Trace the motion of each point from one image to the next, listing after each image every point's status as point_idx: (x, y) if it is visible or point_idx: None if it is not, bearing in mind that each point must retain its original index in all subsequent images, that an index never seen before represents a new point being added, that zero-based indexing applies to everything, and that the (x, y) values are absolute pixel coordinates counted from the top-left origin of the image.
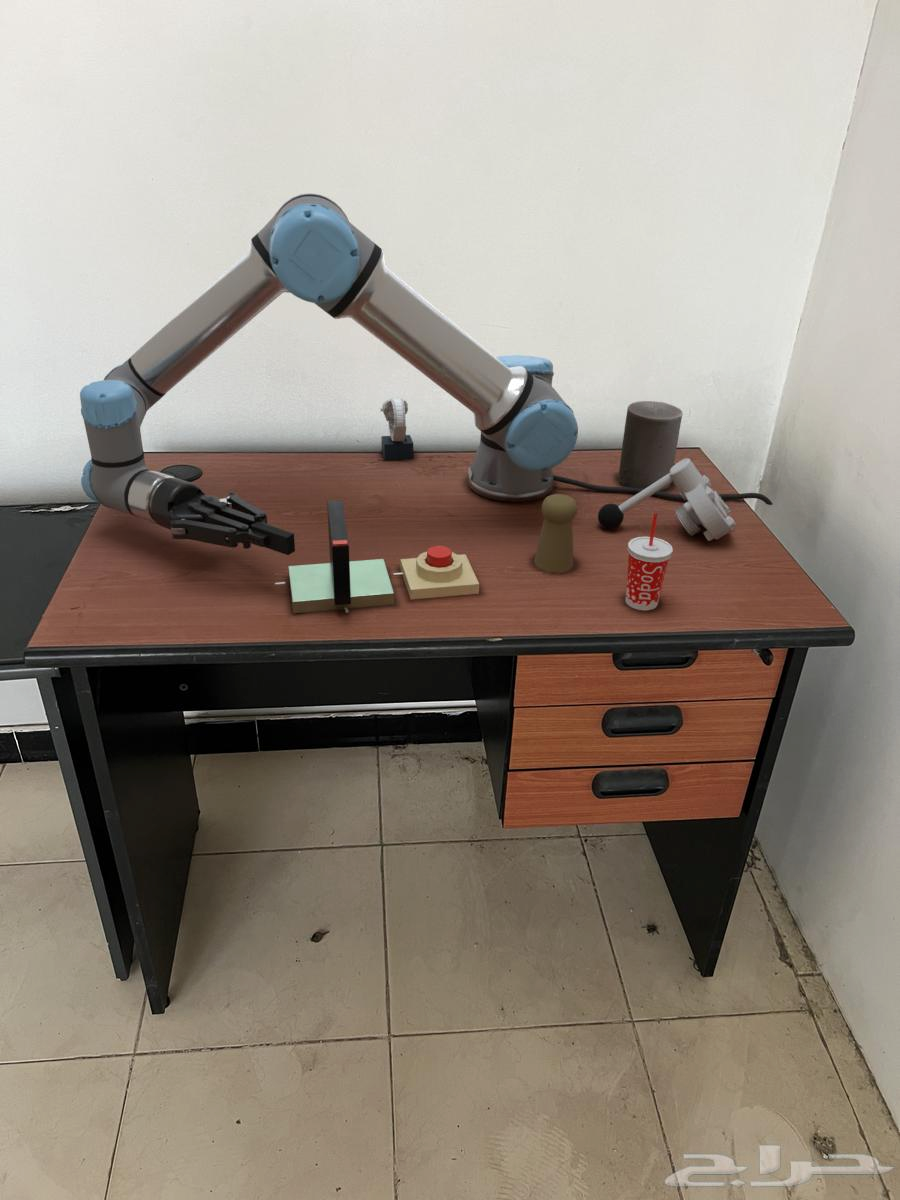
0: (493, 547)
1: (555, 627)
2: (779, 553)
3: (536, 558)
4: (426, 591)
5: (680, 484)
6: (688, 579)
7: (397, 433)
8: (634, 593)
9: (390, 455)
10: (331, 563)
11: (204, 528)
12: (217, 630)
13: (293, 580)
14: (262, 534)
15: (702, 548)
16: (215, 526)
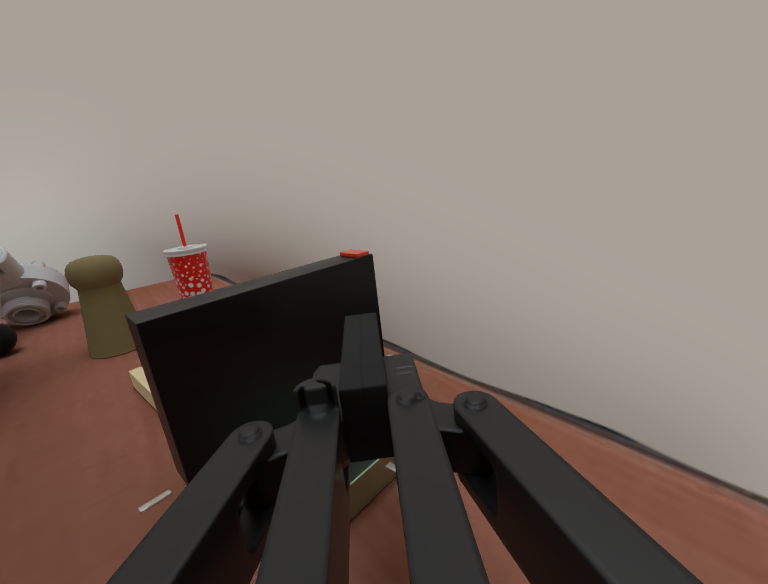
0: (62, 392)
1: None
2: None
3: (124, 343)
4: None
5: (13, 269)
6: (147, 304)
7: None
8: (210, 286)
9: None
10: (306, 377)
11: (617, 514)
12: (635, 492)
13: (361, 463)
14: (390, 365)
15: (74, 315)
16: (534, 470)
